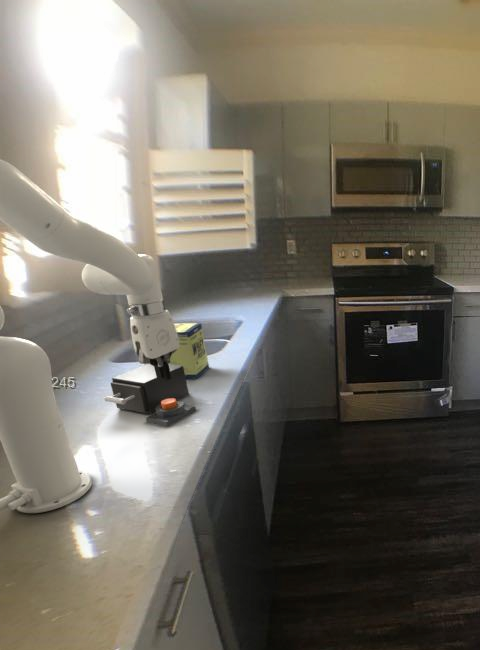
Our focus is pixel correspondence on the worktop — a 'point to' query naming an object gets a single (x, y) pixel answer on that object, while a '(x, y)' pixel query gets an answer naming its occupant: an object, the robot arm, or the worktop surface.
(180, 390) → the dark grey cabinet
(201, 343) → the protein box
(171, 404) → the button
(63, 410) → the worktop surface
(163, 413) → the block
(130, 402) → the drawer
